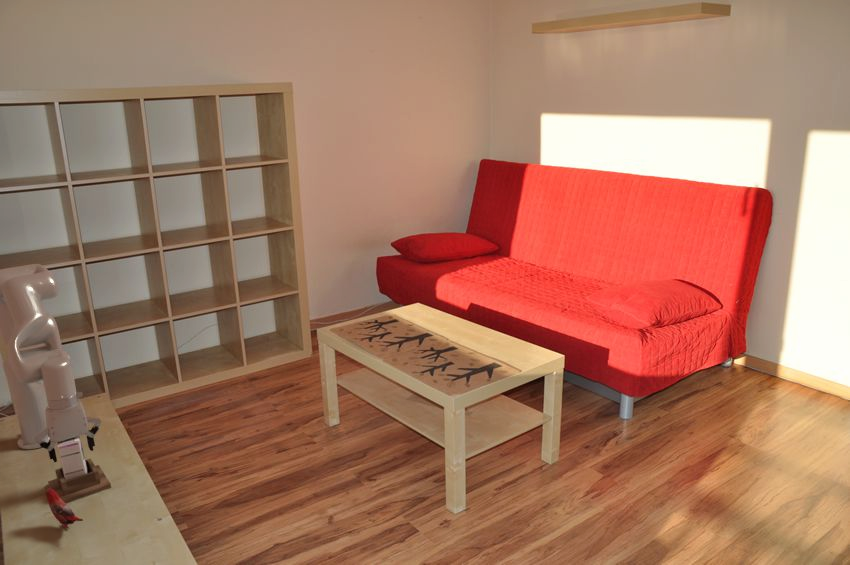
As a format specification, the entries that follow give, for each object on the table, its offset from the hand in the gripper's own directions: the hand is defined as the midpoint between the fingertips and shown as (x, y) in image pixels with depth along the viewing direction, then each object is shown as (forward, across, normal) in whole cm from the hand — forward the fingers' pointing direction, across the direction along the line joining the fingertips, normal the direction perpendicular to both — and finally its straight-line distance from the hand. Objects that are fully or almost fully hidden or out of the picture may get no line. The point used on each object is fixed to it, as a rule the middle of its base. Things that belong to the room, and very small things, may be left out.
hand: (73, 454), depth 197 cm
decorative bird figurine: (+10, +7, +21) cm, 25 cm away
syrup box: (+9, 0, 0) cm, 9 cm away
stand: (+10, 0, 0) cm, 10 cm away
